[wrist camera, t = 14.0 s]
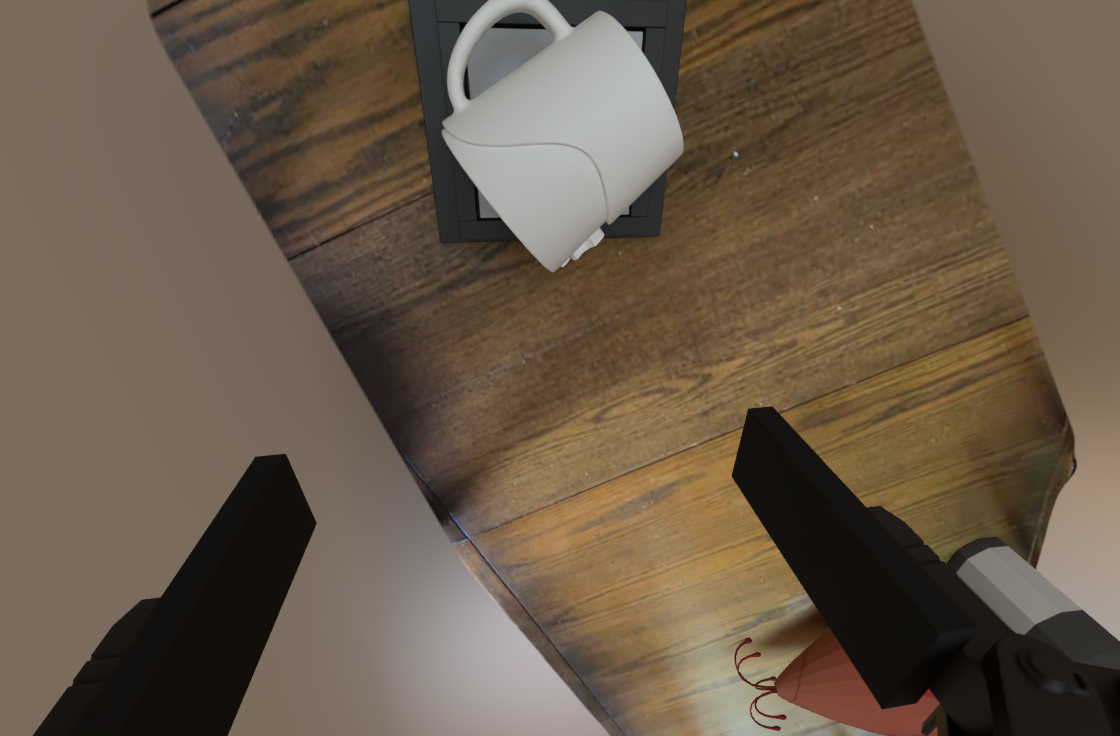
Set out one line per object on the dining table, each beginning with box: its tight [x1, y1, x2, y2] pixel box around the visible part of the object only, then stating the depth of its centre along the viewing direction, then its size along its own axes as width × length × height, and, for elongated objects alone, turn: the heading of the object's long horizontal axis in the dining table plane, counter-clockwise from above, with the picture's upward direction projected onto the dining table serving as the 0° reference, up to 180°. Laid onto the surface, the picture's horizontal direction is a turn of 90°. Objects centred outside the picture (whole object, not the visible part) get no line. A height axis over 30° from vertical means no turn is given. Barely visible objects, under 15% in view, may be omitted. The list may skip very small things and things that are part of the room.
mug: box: [442, 0, 684, 272], centre depth 23 cm, size 12×9×8 cm
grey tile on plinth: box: [467, 28, 643, 218], centre depth 28 cm, size 10×10×2 cm
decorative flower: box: [735, 630, 940, 736], centre depth 60 cm, size 22×23×30 cm
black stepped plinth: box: [408, 0, 687, 243], centre depth 29 cm, size 16×14×3 cm
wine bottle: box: [948, 538, 1120, 670], centre depth 52 cm, size 8×8×30 cm
